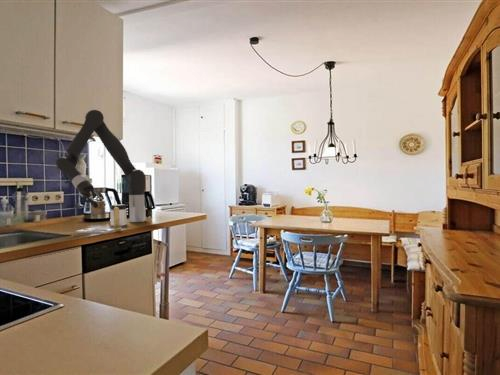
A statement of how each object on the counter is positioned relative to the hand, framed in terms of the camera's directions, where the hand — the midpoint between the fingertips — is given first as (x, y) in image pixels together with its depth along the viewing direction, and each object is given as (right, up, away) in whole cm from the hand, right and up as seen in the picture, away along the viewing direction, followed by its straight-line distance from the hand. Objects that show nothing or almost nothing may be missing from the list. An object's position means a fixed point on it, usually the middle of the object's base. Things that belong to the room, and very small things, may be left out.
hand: (100, 206), depth 175 cm
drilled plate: (+2, -13, -9) cm, 16 cm away
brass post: (+10, -12, -3) cm, 16 cm away
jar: (+4, -12, +15) cm, 20 cm away
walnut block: (-2, -4, +1) cm, 5 cm away
